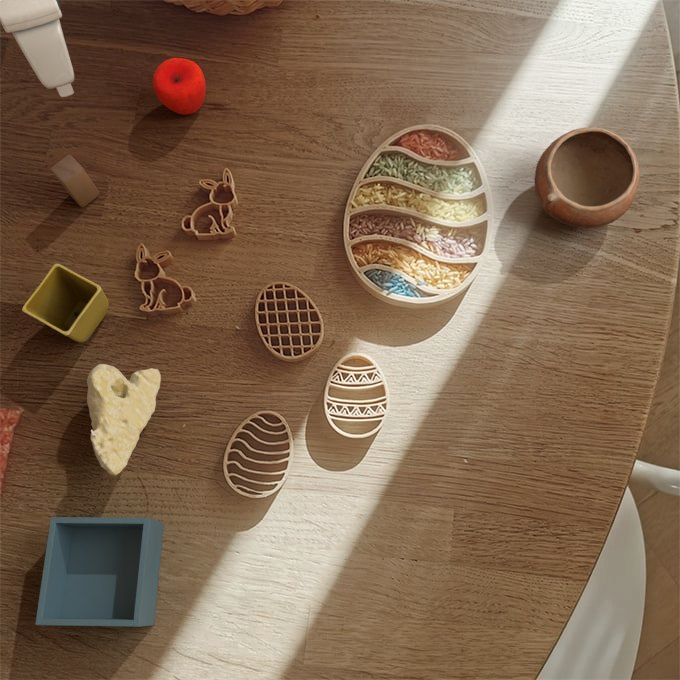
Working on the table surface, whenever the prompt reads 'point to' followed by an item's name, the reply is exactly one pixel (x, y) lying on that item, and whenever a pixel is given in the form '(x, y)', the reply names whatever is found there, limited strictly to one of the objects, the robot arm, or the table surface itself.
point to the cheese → (119, 412)
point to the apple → (180, 85)
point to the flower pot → (68, 303)
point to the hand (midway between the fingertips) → (58, 69)
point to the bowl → (587, 178)
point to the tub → (100, 572)
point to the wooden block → (75, 180)
